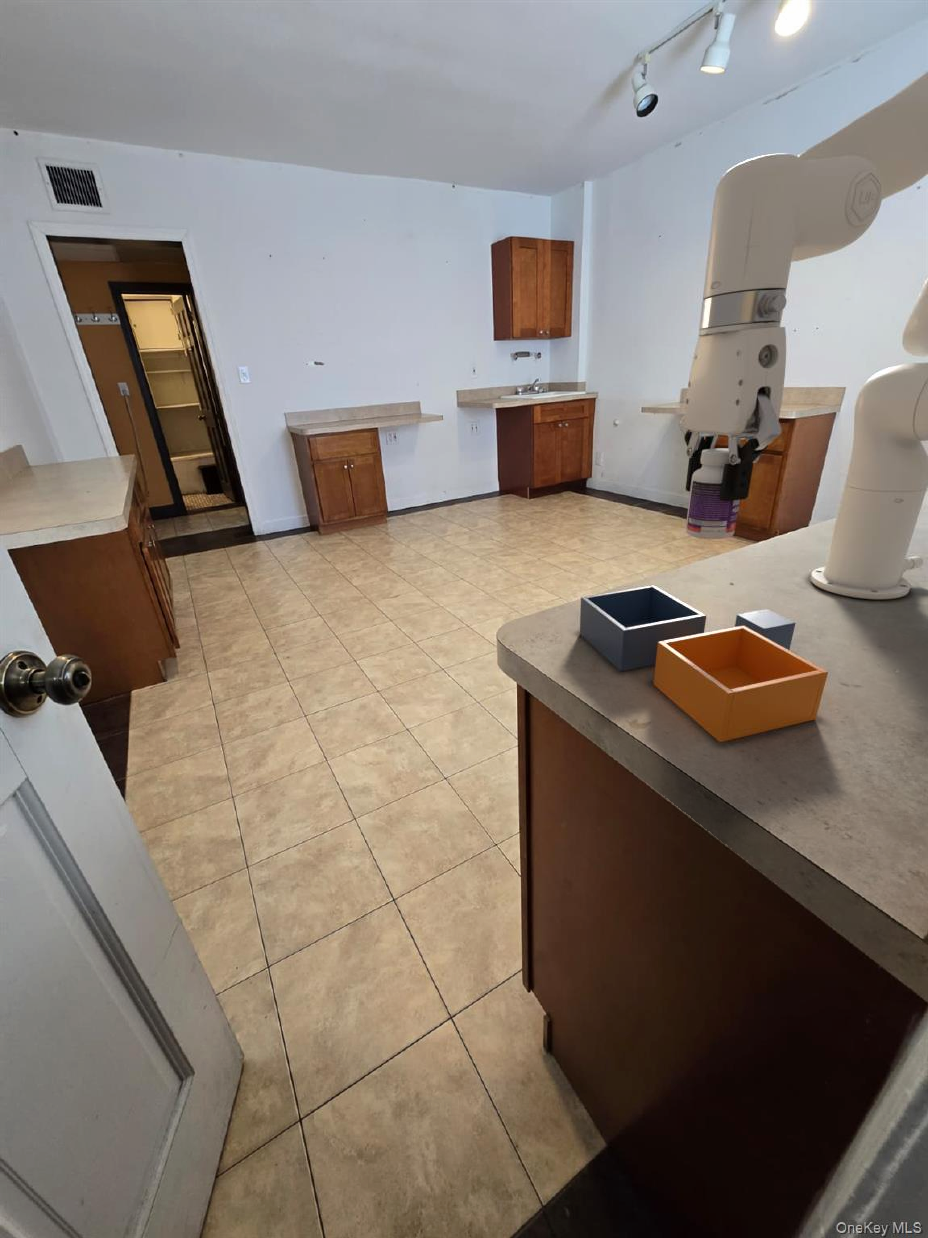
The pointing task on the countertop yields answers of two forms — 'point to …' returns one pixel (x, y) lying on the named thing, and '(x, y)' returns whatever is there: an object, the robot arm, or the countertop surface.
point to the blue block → (768, 626)
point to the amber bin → (738, 682)
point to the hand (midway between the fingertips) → (715, 493)
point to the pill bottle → (710, 499)
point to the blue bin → (636, 624)
